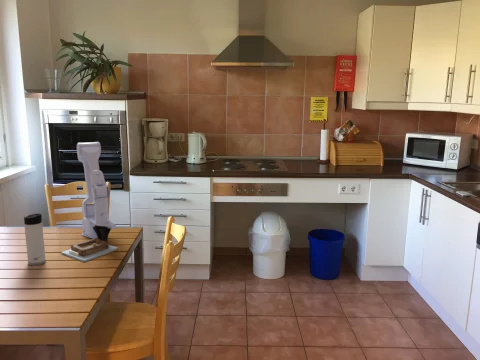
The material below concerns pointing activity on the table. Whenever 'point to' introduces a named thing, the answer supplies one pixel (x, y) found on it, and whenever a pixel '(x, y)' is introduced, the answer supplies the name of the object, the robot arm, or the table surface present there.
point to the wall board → (89, 256)
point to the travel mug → (34, 239)
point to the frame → (89, 246)
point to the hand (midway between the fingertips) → (103, 241)
